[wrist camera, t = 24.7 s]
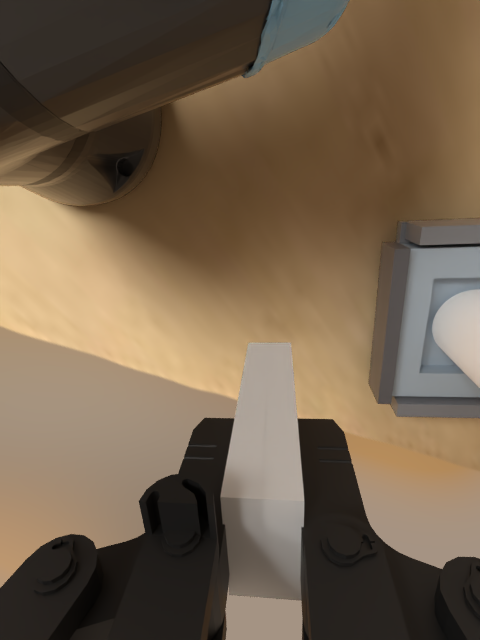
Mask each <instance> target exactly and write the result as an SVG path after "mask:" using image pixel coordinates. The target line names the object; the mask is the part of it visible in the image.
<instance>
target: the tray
mask: <svg viewBox="0 0 480 640" xmlns="http://www.w3.org/2000/svg"><path fill="white" fill-rule="evenodd" d="M475 289H480V243H474V244H443V245H418V244H416V243H408V244H400V243H398V242H382V249H381V259H380V270H379V280H378V290H377V301H376V311H375V321H374V332H373V342H372V352H371V363H370V373H369V386H370V388H371V390H372V392H373V394H374V397H375V399H376V401H377V403H378V404H391V401H392V396H416V397H480V388H479V387H478V386H477V385H476V384H475V383H474V382H473V381H472V380H471V379H470V378H469V377H468V376H467V375H466V374H465V373H464V372H463V371H462V370H461V369H460V368H459V367H458V366H457V365H456V364H455V363H454V362H453V361H452V360H451V359H450V358H449V357H448V356H447V355H446V353H445V352H444V351H443V350H442V349H441V348H440V347H439V346H438V345H437V344H436V342H435V340H434V337H433V333H432V324H433V320H434V317H435V315H436V313H437V311H438V310H439V308H440V307H441V306H442V305H443V304H444V303H445V302H446V301H447V300H448V299H450V298H451V297H453V296H455V295H456V294H459V293H461V292H464V291H468V290H475Z"/></svg>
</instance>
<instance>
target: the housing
mask: <svg viewBox="0 0 480 640" xmlns="http://www.w3.org/2000/svg"><path fill="white" fill-rule="evenodd" d="M396 242H398V243H400V244H408V243H416V244H418V245H443V244H474V243H480V218H467V219H441V220H416V221H398V227H397V236H396ZM390 405H391V407H392V409H393V411H394V413H395V415H396V416H398V417H448V418H480V397H416V396H392V401H391V404H390Z"/></svg>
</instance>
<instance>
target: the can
mask: <svg viewBox="0 0 480 640" xmlns="http://www.w3.org/2000/svg"><path fill="white" fill-rule="evenodd" d="M432 333H433V337H434V340H435V342H436V344H437V345H438V346H439V347H440V348H441V349H442V350H443V351H444V352H445V353H446V355H447V356H448V357H449V358H450V359H451V360H452V361H453V362H454V363H455V364H456V365H457V366H458V367H459V368H460V369H461V370H462V371H463V372H464V373H465V374H466V375H467V376H468V377H469V378H470V379H471V380H472V381H473V382H474V383H475V384H476V385H477V386H478V387H479V388H480V289H475V290H468V291H464V292H461V293H459V294H456V295H455V296H453V297H451V298H450V299H448V300H447V301H446V302H445V303H444V304H443V305H442V306H441V307H440V308H439V310H438V311H437V313H436V315H435V317H434V320H433V324H432Z"/></svg>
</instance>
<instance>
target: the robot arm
mask: <svg viewBox="0 0 480 640" xmlns="http://www.w3.org/2000/svg"><path fill="white" fill-rule="evenodd" d="M349 1H350V0H0V186H21V187H23V188H25V189H27V190H29V191H31V192H33V193H35V194H38V195H40V196H42V197H44V198H46V199H49V200H51V201H54V202H58V203H62V204H67V205H74V206H88V205H96V204H103V203H108V202H111V201H114V200H116V199H118V198H121V197H122V196H124V195H126V194H127V193H129V192H130V191H131V190H132V189H134V188H135V187H136V186H137V185H138V184H139V183H140V182H141V180H142V179H143V178H144V177H145V175H146V174H147V172H148V170H149V169H150V167H151V165H152V163H153V160H154V158H155V155H156V152H157V149H158V145H159V140H160V133H161V106H163V105H166V104H168V103H171V102H174V101H176V100H179V99H181V98H184V97H187V96H189V95H192V94H194V93H197V92H199V91H202V90H205V89H207V88H210V87H212V86H215V85H218V84H220V83H223V82H225V81H228V80H231V79H233V78H236V77H238V76H241V75H242V76H243V77H244V78H248V77H251V76H254V75H255V74H257V73H258V72H259V71H260V70H261V68H262V67H263V66H264V65H265V64H267V63H269V62H271V61H274V60H276V59H278V58H280V57H282V56H285V55H287V54H289V53H291V52H293V51H296V50H298V49H300V48H302V47H305V46H307V45H309V44H311V43H313V42H315V41H317V40H319V39H320V38H321V37H323V36H324V35H325V34H327V33H328V32H329V31H330V30H331V29H332V28H333V27H334V25H335V24H336V23H337V21H338V19H339V18H340V16H341V15H342V13H343V12H344V10H345V9H346V7H347V4H348V2H349ZM139 504H140V509H141V514H142V518H143V523H144V528H145V533H144V534H142V535H141V536H139V537H138V538H134V539H132V540H129V541H126V542H122V543H118V544H115V545H111V546H107V547H103V548H99V549H96V547H95V545H94V542H93V541H91V540H90V539H88V538H87V537H86V536H84V535H74V534H70V535H67V536H62V537H58V538H55V539H54V540H52V541H50V542H48V543H46V544H45V545H43V546H41V547H40V548H39V549H38V550H36V551H35V552H34V553H33V554H32V555H31V556H30V557H28V558H27V559H26V560H25V562H24V563H23V564H22V565H21V566H20V567H19V568H18V569H17V570H16V572H15V573H14V574H13V575H12V576H11V577H10V578H9V579H8V580H7V581H6V582H5V584H4V585H3V586H2V587H1V588H0V640H225V639H226V630H227V628H226V613H225V608H226V600H227V592H228V586H229V595H237V596H250V597H263V598H276V599H289V600H301V601H302V615H303V624H302V625H303V626H302V640H480V559H479V558H476V557H457V558H455V559H453V560H451V561H448V562H446V564H445V566H444V568H443V569H440V568H437V567H434V566H431V565H429V564H426V563H423V562H421V561H418V560H415V559H412V558H410V557H408V556H405V555H403V554H401V553H399V552H397V551H396V550H394V549H393V548H391V547H390V546H388V545H387V544H386V543H385V542H383V540H382V539H381V538H379V537H378V535H376V533H375V532H374V530H373V529H372V527H371V526H370V524H369V522H368V519H367V516H366V513H365V510H364V506H363V502H362V498H361V495H360V491H359V488H358V483H357V479H356V476H355V472H354V468H353V465H352V463H351V457H350V453H349V451H348V446H347V442H346V439H345V434H344V432H343V431H342V430H341V428H340V427H339V426H338V425H337V424H336V423H335V422H334V420H333V419H297V408H296V396H295V384H294V372H293V360H292V349H291V343H248V347H247V353H246V358H245V364H244V369H243V375H242V380H241V386H240V391H239V397H238V402H237V408H236V414H235V419H230V418H204V419H203V420H202V421H201V422H200V423H199V424H198V425H197V427H196V428H195V429H194V430H193V432H192V435H191V438H190V441H189V446H188V447H187V450H186V453H185V456H184V459H183V462H182V465H181V467H180V470H179V474H175V475H170V476H168V477H165V478H163V479H161V480H158V481H157V482H156V483H154V484H153V485H152V486H150V487H149V488H148V489H147V490H146V491H145V493H144V495H143V496H142V497H141V499H140V500H139Z"/></svg>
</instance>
